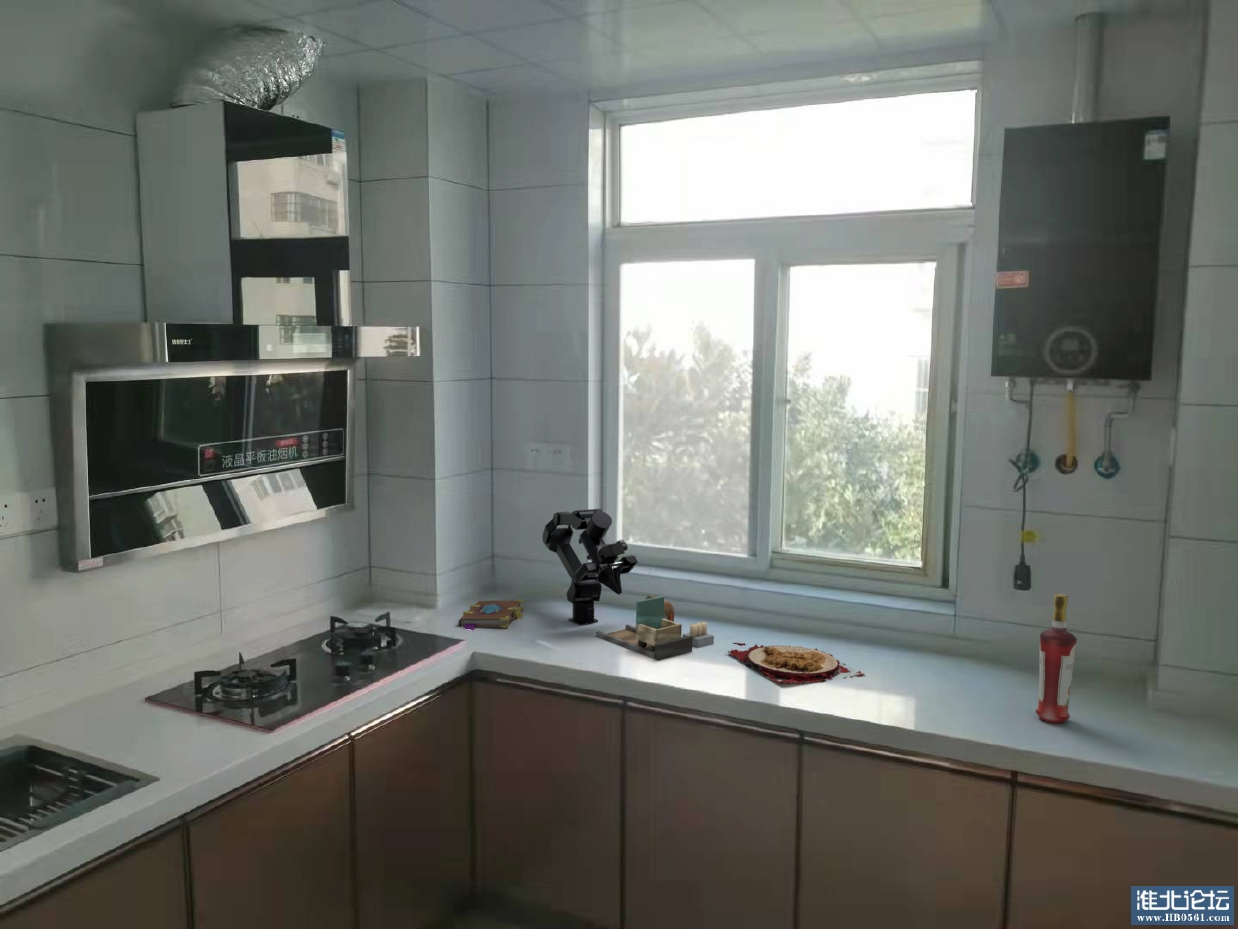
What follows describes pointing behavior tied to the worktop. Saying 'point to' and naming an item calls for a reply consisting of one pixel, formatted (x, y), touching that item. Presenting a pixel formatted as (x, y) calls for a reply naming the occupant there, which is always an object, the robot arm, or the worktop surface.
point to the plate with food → (791, 663)
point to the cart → (654, 623)
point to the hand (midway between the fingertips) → (620, 593)
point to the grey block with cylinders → (700, 635)
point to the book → (491, 614)
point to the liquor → (1056, 666)
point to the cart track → (661, 649)
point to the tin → (666, 609)
